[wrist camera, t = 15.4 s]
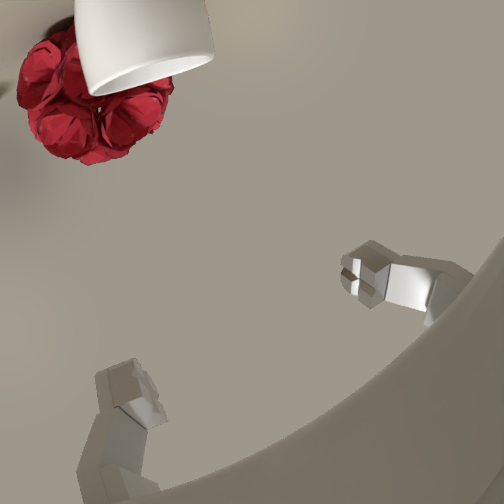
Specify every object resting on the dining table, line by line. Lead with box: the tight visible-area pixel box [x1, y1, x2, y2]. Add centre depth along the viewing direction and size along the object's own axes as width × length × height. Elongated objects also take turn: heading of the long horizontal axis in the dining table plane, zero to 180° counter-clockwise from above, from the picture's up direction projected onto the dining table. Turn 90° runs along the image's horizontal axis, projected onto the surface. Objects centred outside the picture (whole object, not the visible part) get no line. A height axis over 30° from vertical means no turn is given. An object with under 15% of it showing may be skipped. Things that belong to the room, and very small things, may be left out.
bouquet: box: [17, 22, 174, 166], centre depth 32 cm, size 22×24×30 cm
